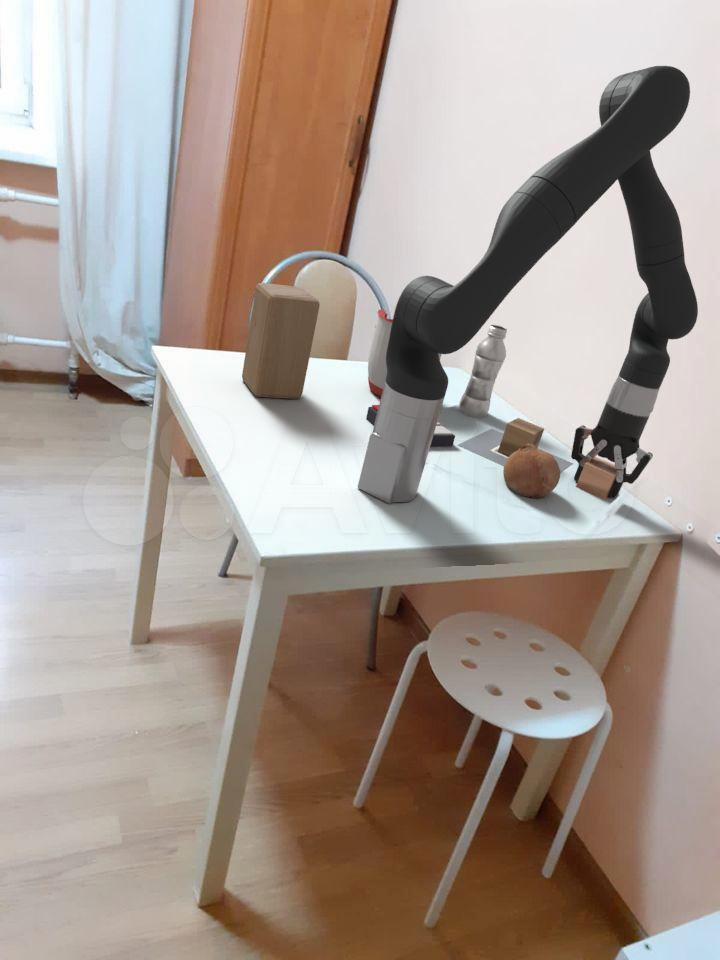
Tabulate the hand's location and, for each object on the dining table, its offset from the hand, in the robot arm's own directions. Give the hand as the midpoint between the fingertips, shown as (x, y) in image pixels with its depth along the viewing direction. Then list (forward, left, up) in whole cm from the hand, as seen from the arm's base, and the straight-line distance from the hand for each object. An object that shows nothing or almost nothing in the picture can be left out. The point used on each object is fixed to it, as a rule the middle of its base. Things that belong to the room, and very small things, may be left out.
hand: (594, 490), depth 131 cm
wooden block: (-19, +62, -1) cm, 65 cm away
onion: (-13, +8, -1) cm, 16 cm away
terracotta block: (0, 0, -1) cm, 1 cm away
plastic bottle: (+13, +32, -1) cm, 35 cm away
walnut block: (0, +16, 0) cm, 16 cm away
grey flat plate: (0, +16, -1) cm, 16 cm away
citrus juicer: (+7, +49, -1) cm, 49 cm away
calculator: (-11, +34, -1) cm, 36 cm away
